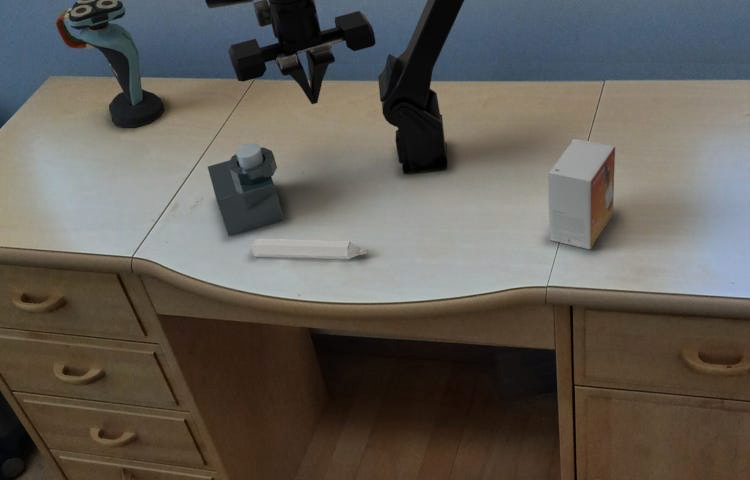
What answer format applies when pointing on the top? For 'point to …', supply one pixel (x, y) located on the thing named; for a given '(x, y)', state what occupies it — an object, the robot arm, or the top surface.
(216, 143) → the top surface
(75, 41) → the electric shaver
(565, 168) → the small box
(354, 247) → the pale grey rod
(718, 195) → the top surface
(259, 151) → the pale grey disc
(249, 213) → the push button box
